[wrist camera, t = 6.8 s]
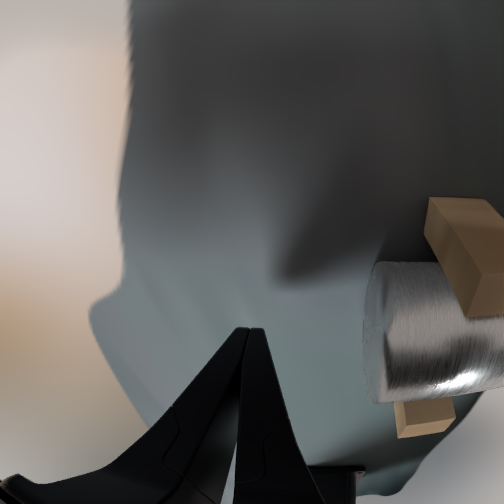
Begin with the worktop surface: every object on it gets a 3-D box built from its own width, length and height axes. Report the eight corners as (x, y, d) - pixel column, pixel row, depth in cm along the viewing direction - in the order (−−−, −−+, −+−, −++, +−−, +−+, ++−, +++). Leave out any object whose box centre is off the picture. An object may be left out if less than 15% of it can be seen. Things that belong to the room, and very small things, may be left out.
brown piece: (429, 362, 12) (444, 431, 9) (388, 366, 12) (397, 438, 9) (484, 198, 7) (545, 270, 5) (429, 196, 8) (482, 274, 5)
